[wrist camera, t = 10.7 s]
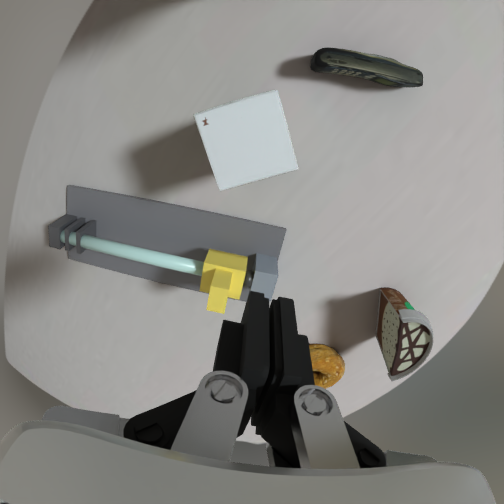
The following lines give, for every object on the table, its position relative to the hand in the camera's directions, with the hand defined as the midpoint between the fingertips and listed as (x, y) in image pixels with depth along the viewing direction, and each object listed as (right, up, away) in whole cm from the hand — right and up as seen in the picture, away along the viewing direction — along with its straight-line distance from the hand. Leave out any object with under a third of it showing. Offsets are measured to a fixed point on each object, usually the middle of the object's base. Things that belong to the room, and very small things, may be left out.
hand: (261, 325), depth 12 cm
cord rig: (-14, +4, +30) cm, 34 cm away
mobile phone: (+14, +25, +20) cm, 35 cm away
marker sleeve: (-4, +1, +29) cm, 29 cm away
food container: (+23, -6, +34) cm, 41 cm away
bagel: (+10, -16, +39) cm, 43 cm away
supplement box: (0, +17, +24) cm, 30 cm away
